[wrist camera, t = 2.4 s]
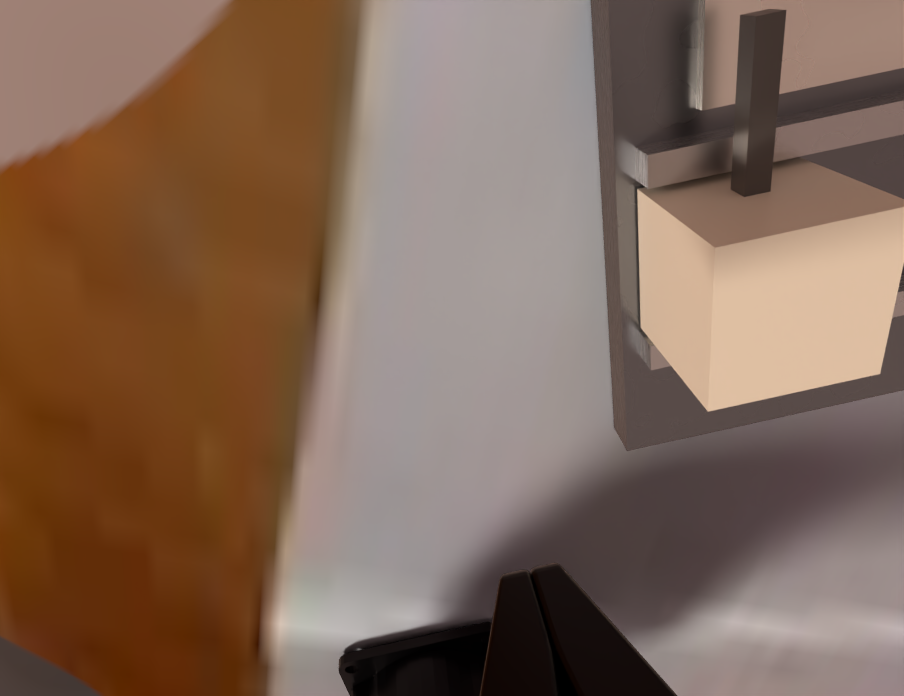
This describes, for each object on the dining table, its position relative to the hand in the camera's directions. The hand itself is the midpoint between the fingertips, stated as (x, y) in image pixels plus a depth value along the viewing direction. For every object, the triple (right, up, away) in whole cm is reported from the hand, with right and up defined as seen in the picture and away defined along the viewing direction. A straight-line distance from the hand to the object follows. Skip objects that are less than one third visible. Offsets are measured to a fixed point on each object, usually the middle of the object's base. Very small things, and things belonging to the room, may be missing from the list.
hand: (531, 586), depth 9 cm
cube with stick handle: (+5, +8, +7) cm, 12 cm away
